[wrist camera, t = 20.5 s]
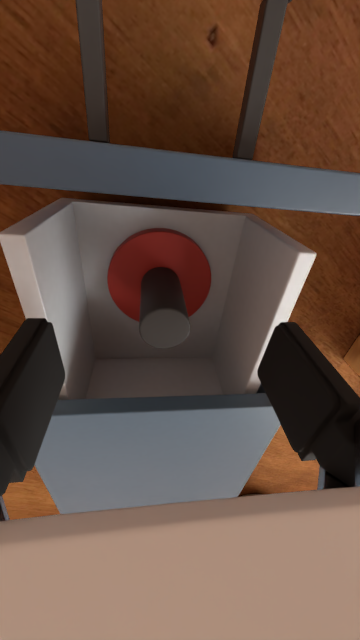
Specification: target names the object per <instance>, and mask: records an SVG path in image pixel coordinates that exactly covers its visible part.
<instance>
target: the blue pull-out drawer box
mask: <svg viewBox="0 0 360 640" xmlns="http://www.w3.org/2000/svg"><path fill="white" fill-rule="evenodd" d="M291 1H292V0H263V1H262V2H261V4H260V10H259V15H258V21H257V26H256V32H255V37H254V42H253V48H252V53H251V59H250V64H249V70H248V75H247V80H246V86H245V91H244V97H243V102H242V108H241V113H240V119H239V124H238V129H237V135H236V140H235V146H234V151H233V158H228V157H220V156H211V155H203V154H195V153H186V152H178V151H169V150H161V149H153V148H144V147H136V146H127V145H119V144H111V143H110V134H109V117H108V99H107V82H106V64H105V47H104V29H103V12H102V0H76V10H77V20H78V31H79V41H80V51H81V62H82V72H83V82H84V93H85V103H86V113H87V124H88V134H89V140H90V141H85V140H77V139H69V138H60V137H52V136H43V135H35V134H27V133H18V132H10V131H1V130H0V184H3V185H14V186H25V187H36V188H48V189H59V190H70V191H81V192H93V193H104V194H115V195H126V196H138V197H149V198H160V199H171V200H183V201H194V202H205V203H216V204H228V205H239V206H250V207H261V208H273V209H284V210H295V211H306V212H317V213H329V214H340V215H351V216H360V173H354V172H346V171H338V170H329V169H321V168H312V167H304V166H296V165H287V164H279V163H270V162H262V161H254V160H252V159H253V154H254V150H255V145H256V141H257V136H258V132H259V128H260V123H261V119H262V114H263V110H264V105H265V101H266V96H267V92H268V87H269V83H270V79H271V74H272V70H273V65H274V61H275V56H276V52H277V47H278V43H279V38H280V34H281V30H282V25H283V21H284V16H285V12H286V7H287V4H288V3H289V2H291ZM151 228H167V229H172V230H176V231H179V232H181V233H183V234H185V235H187V236H188V237H190V238H191V239H192V240H193V241H195V242H196V243H197V244H198V246H199V247H200V248H201V250H202V251H203V253H204V254H205V256H206V258H207V260H208V263H209V266H210V270H211V287H210V290H209V293H208V296H207V298H206V300H205V301H204V303H203V304H202V306H201V307H200V308H199V309H198V310H197V311H196V312H195V313H194V314H193V315H191V316H190V317H189V321H190V326H191V327H190V332H189V335H188V337H187V338H186V339H185V340H184V341H183V342H182V343H181V344H179V345H177V346H175V347H172V348H167V349H160V348H155V347H152V346H150V345H148V344H147V343H146V342H145V341H144V340H143V339H142V337H141V335H140V333H139V322H138V321H135V320H133V319H132V318H130V317H128V316H127V315H126V314H124V313H123V312H122V311H121V310H120V309H119V308H118V307H117V305H116V304H115V302H114V301H113V299H112V297H111V295H110V292H109V289H108V283H107V274H108V268H109V265H110V262H111V259H112V257H113V255H114V252H115V251H116V250H117V248H118V247H119V246H120V244H121V243H122V242H123V241H125V240H126V239H127V238H128V237H130V236H131V235H133V234H135V233H137V232H140V231H142V230H146V229H151ZM0 243H1V246H2V249H3V252H4V255H5V258H6V261H7V264H8V267H9V270H10V273H11V276H12V279H13V282H14V285H15V288H16V291H17V294H18V297H19V300H20V303H21V306H22V309H23V312H24V315H25V318H26V319H27V318H45V319H46V320H47V322H51V323H52V324H53V328H54V331H55V335H56V339H57V343H58V347H59V351H60V354H61V358H62V362H63V366H64V370H65V380H64V384H63V386H62V389H61V392H60V395H59V397H58V400H68V399H100V398H131V397H162V396H193V395H224V394H256V393H257V391H258V388H259V386H260V384H261V382H260V380H259V378H258V374H257V371H258V367H259V365H260V362H261V360H262V358H263V355H264V353H265V350H266V348H267V345H268V343H269V340H270V338H271V336H272V333H273V331H274V328H275V327H276V326H278V325H279V324H280V323H281V322H288V319H289V317H290V315H291V312H292V310H293V308H294V305H295V303H296V301H297V299H298V296H299V294H300V292H301V289H302V287H303V285H304V282H305V280H306V278H307V276H308V273H309V271H310V269H311V266H312V264H313V262H314V259H315V257H316V253H315V252H314V251H312V250H310V249H309V248H307V247H306V246H304V245H302V244H301V243H299V242H297V241H296V240H294V239H293V238H291V237H289V236H288V235H286V234H284V233H283V232H281V231H280V230H278V229H276V228H275V227H273V226H271V225H270V224H268V223H267V222H265V221H263V220H262V219H260V218H258V217H257V216H256V215H254V214H249V213H238V212H226V211H214V210H202V209H190V208H178V207H166V206H155V205H143V204H131V203H119V202H107V201H95V200H84V199H72V198H60V199H58V200H56V201H55V202H53V203H51V204H49V205H48V206H46V207H44V208H42V209H40V210H39V211H37V212H35V213H33V214H32V215H30V216H28V217H26V218H25V219H23V220H21V221H19V222H17V223H16V224H14V225H12V226H10V227H9V228H7V229H5V230H3V231H2V232H0Z"/></svg>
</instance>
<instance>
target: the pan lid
mask: <svg viewBox="0 0 360 640" xmlns="http://www.w3.org/2000/svg"><path fill="white" fill-rule="evenodd" d="M107 283H108V289H109V292H110V295H111V297H112V299H113V301H114V302H115V304H116V305H117V307H118V308H119V309H120V310H121V311H122V312H123V313H124V314H126V315H127V316H128V317H130V318H132V319H133V320H135V321H138V322H139V333H140V335H141V337H142V339H143V340H144V341H145V342H146V343H147V344H148V345H150V346H152V347H155V348H160V349H167V348H172V347H175V346H177V345H179V344H181V343H182V342H183V341H184V340H185V339H186V338H187V337H188V335H189V332H190V327H191V326H190V321H189V317H190V316H191V315H193V314H194V313H195V312H196V311H197V310H198V309H199V308H200V307H201V306H202V304H203V303H204V301H205V300H206V298H207V296H208V293H209V290H210V287H211V270H210V266H209V263H208V260H207V258H206V256H205V254H204V253H203V251H202V250H201V248H200V247H199V246H198V244H197V243H196V242H195V241H193V240H192V239H191V238H190V237H188V236H187V235H185V234H183V233H181V232H179V231H176V230H172V229H167V228H151V229H146V230H142V231H140V232H137V233H135V234H133V235H131V236H130V237H128V238H127V239H126V240H125V241H123V242H122V243H121V244H120V246H119V247H118V248H117V250H116V251H115V252H114V255H113V257H112V259H111V262H110V265H109V268H108V274H107Z"/></svg>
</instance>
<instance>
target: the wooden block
mask: <svg viewBox="0 0 360 640" xmlns="http://www.w3.org/2000/svg"><path fill="white" fill-rule="evenodd" d="M343 360H344V361H345V362H346V363H347V364H348V365H349V366H350V367H351V368H352V369H353V370H354V372H355V373H356V374H357V375H358V376H359V377H360V335H359V336H358V338H357V339H356V341H355V342H354V344H353V345H352V347H351V348H350V350H349V351H348V353H347V354H346V355H345V357H344V358H343Z"/></svg>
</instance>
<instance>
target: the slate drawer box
mask: <svg viewBox="0 0 360 640" xmlns="http://www.w3.org/2000/svg"><path fill="white" fill-rule="evenodd" d="M280 425H281V424H280V422H279V420H278V417H277V415H276V413H275V411H274V409H273V407H272V405H271V403H270V401H269V399H268V397H267V395H266V392H265V390H264V388H263V386H262V384H260V386H259V388H258V391H257V393H256V394H224V395H193V396H162V397H131V398H100V399H68V400H57V403H56V406H55V409H54V411H53V414H52V417H51V420H50V423H49V425H48V428H47V431H46V434H45V437H44V439H43V442H42V445H41V448H40V450H39V453H38V456H37V459H36V462H35V464H34V465H35V467H36V469H37V471H38V473H39V474H40V476H41V478H42V480H43V482H44V484H45V486H46V487H47V489H48V491H49V493H50V495H51V497H52V499H53V501H54V502H55V504H56V506H57V508H58V510H59V512H60V514H69V513H79V512H89V511H99V510H109V509H119V508H129V507H139V506H149V505H159V504H170V503H180V502H191V501H201V500H212V499H223V498H233V497H238V495H239V494H240V492H241V490H242V489H243V487H244V485H245V484H246V482H247V480H248V479H249V477H250V475H251V474H252V472H253V470H254V468H255V467H256V465H257V463H258V462H259V460H260V458H261V457H262V455H263V453H264V452H265V450H266V448H267V447H268V445H269V443H270V442H271V440H272V438H273V437H274V435H275V433H276V432H277V430H278V428H279V426H280Z"/></svg>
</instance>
